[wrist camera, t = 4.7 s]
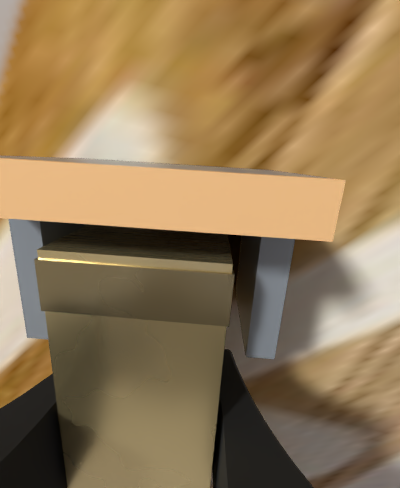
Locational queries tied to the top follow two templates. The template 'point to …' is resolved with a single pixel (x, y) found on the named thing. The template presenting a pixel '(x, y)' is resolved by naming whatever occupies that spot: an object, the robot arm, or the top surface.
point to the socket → (172, 221)
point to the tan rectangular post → (136, 352)
